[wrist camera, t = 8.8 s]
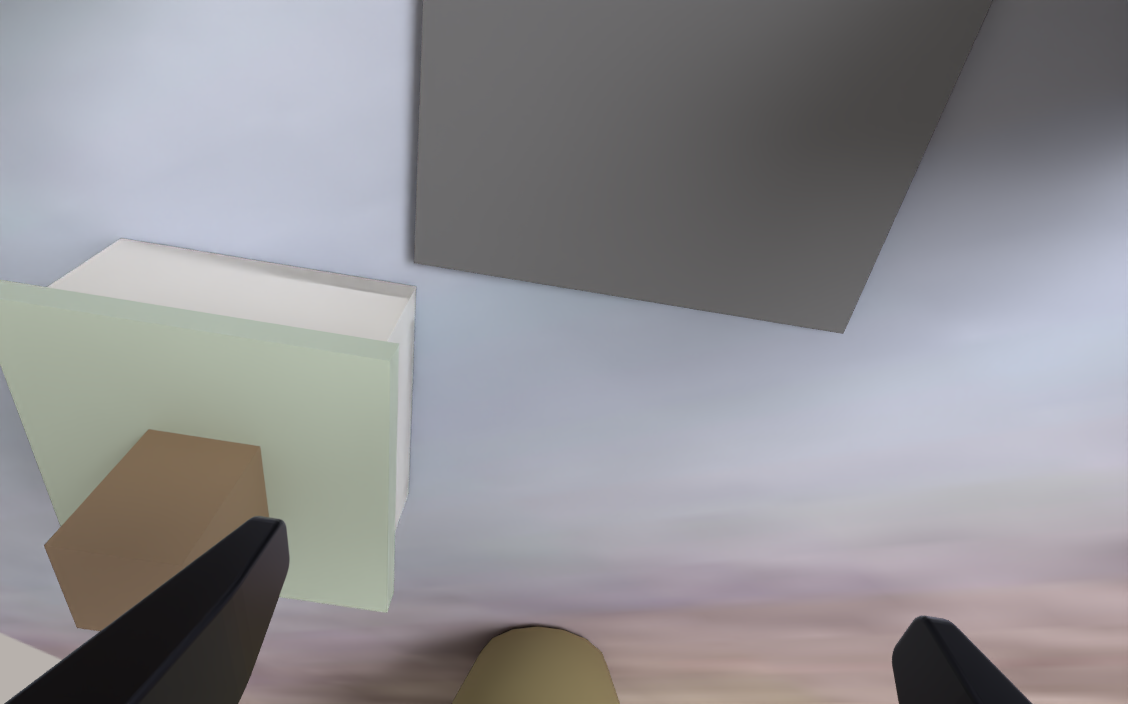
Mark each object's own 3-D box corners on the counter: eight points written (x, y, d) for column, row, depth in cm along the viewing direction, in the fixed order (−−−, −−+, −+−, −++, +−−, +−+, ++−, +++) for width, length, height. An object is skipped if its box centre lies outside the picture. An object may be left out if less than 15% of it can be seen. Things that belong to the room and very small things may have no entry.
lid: (398, 343, 17) (334, 474, 13) (393, 592, 23) (346, 738, 19) (-1, 279, 17) (-193, 394, 13) (91, 547, 22) (-23, 686, 18)
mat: (1080, -219, 14) (1093, -223, 13) (839, 326, 21) (843, 333, 20) (439, -345, 13) (434, -351, 13) (417, 257, 20) (413, 262, 20)
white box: (416, 286, 21) (378, 358, 17) (408, 494, 26) (378, 581, 22) (121, 238, 20) (24, 301, 17) (170, 457, 25) (103, 540, 22)
